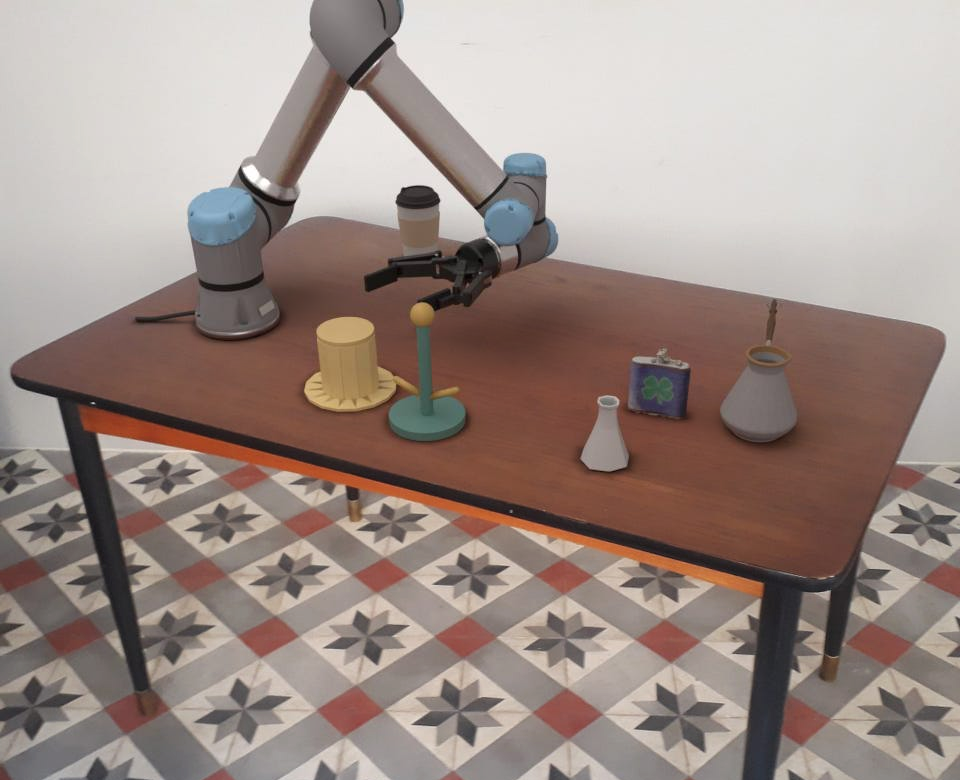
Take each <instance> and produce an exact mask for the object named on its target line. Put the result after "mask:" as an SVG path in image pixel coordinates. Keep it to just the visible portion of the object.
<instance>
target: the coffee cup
mask: <svg viewBox="0 0 960 780" xmlns="http://www.w3.org/2000/svg"><path fill="white" fill-rule="evenodd" d="M441 201H442V200H441V198H440V195H439V193H437V192H436V191H435V190H434V188H433V187H431V186H428V185H424V184H416V185H414V184H413V185H409V186H406V187H404V186H402V187H401V188H400V192H399V193H398V194H397V195H396V198H395V205H396V209H397V213H396V214H397V223H398V229H399V234H400V242H401V244H402V245H401V247H402V252H403V256H410V255H418V254H425V253H430V252H434V251H437V250H438V246H439V245H438V244H439V237H440V236H439V235H440V217H441V211H440V203H441Z"/></svg>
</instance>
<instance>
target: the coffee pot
mask: <svg viewBox="0 0 960 780" xmlns="http://www.w3.org/2000/svg"><path fill="white" fill-rule="evenodd" d="M770 303H771V304H770ZM769 304H770V305H769ZM778 304H779V305H780V306H779V307H777V306H778ZM766 306H767V308H769V309H768V312H769V316H768V319H767V322H766V334H765V344H760V345H758V344H757V345H753V346H750V347H748V349H746V351H745V353H744V355H745V358H746V360H747V366H746V367H745V369H744V370H743V372H742V373H741V374H740V376H739V378H738V379H737V381H736V382H735V383H734V385H733V387H732V388H731V390H730V391H729V392H728V393H727V395H726V397H725V398H724V400H723V401H722V403H721V405H720V407H719V411H720V412H719V414H720V417H721V420H722V422H723V423H724V425H725V426H726V427H727V428H728V430H730V431H731V432H732V434H734V435H735V436H736V437H738V438H740V439H742V440H745V441H747V442H753V443H769V442H773V441H775V440H777V439H779V438H781V437H782V436H784V435H787V434H788V433H790V432H791V430H792V429H793V428H794V426H795V425H796V423H797V420H798V413H797V408H796V406H795V403H794V399H793V395H792V392H791V390H790V389H791V388H790V386H789V382H788V379H787V376H786V372H785V368H786V367H787V366H788V365H789V363H790V362H792V361H793V359H794V358H793V356H792V355H791V354H790V352H788V351H786V350H785V349H783V348H781V347H778V346H776V345H772V343H773V338H774V335H775V334H774V333H775V327H776V325H777V324H776V323H777V322H776V321H777V320H776V319H777V318H776V315H777V313H778V310H779V309H781V308H782V306H783V304H782V302H780V301H778V300H777V299H772V300H769V301H767V303H766Z"/></svg>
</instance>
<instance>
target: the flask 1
mask: <svg viewBox="0 0 960 780" xmlns="http://www.w3.org/2000/svg"><path fill="white" fill-rule="evenodd" d="M596 403H597V406H598V415H597V418H596V421H595V424H594V425H593V428H592V430H591V433H590V435H589V436H588V438H587V440H586V443H585V445H584V447H583V449H582V453H581V456H580V461H582V463H583V464H584V465H585V466H586V467H587V468H588V469H589V470H594V471H603V472H612V471H617V470H620V469H621V470H622V469H625V468H627V467H628V463H629V460H630V459H629V457H630V454H629V451H628V450H627V446H626V442H625V441H624V437H623V435H622V431H621V428H620V425H619V420H618V419H619V418H618V409H619V405H620V399H619V398H618V397H617V396H615V395H607V394H606V395H602V396H598V398H597V401H596Z"/></svg>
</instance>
